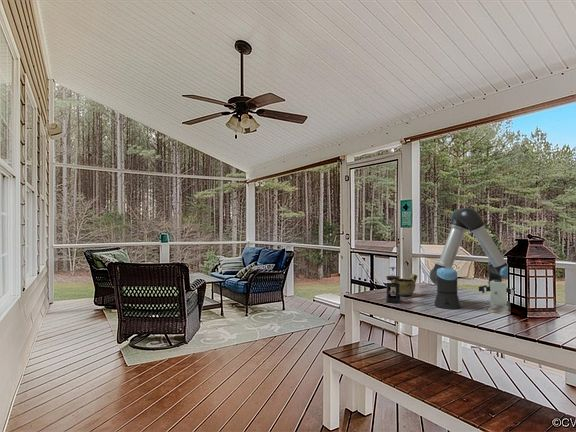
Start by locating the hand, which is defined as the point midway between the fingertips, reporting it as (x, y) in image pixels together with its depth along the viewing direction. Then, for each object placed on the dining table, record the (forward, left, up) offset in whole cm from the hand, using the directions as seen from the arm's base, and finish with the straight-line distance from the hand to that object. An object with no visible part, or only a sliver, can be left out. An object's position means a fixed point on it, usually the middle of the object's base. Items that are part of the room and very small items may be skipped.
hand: (498, 292), depth 206 cm
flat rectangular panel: (-2, +3, -10) cm, 11 cm away
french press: (-51, -34, -12) cm, 62 cm away
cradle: (-2, +3, -12) cm, 12 cm away
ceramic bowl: (-66, -12, -12) cm, 68 cm away
